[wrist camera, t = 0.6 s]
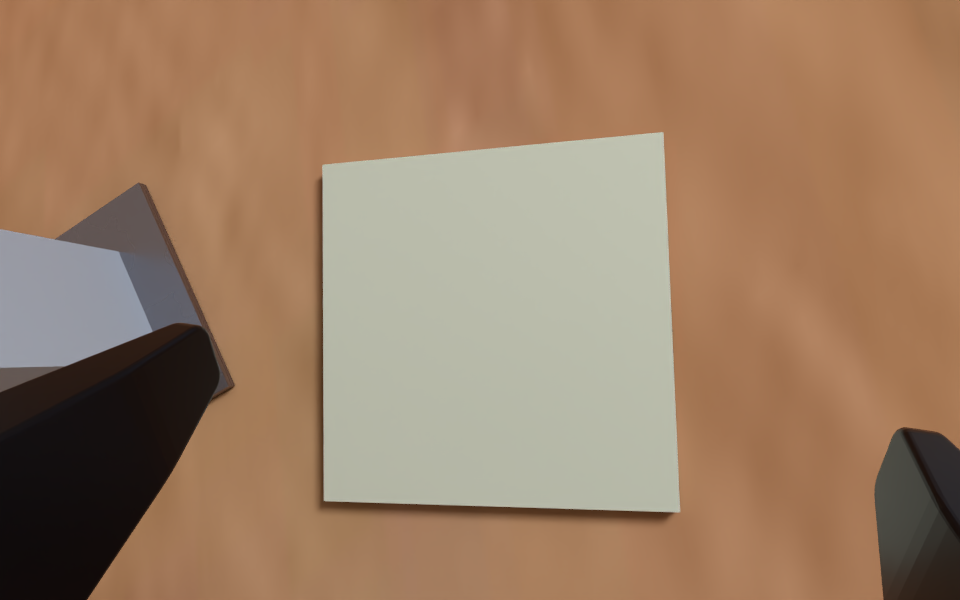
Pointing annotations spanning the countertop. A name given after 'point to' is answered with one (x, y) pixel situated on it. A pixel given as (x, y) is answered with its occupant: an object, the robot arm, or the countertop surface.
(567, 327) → the mat
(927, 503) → the robot arm
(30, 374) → the gray pillar with knob
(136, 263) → the grey square base plate
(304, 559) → the countertop surface
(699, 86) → the countertop surface
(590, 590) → the countertop surface
